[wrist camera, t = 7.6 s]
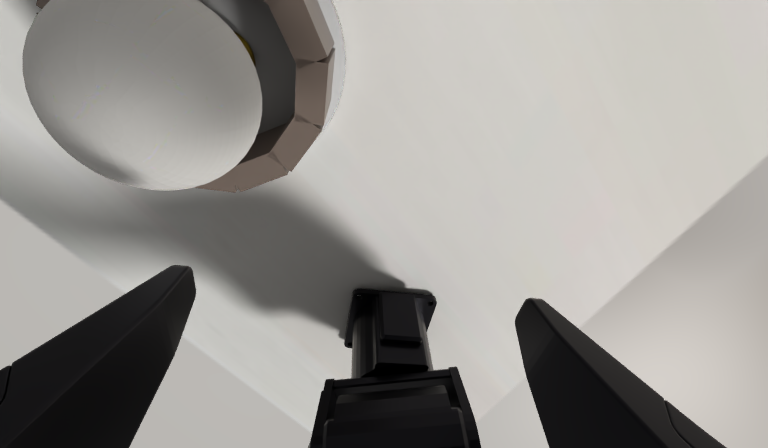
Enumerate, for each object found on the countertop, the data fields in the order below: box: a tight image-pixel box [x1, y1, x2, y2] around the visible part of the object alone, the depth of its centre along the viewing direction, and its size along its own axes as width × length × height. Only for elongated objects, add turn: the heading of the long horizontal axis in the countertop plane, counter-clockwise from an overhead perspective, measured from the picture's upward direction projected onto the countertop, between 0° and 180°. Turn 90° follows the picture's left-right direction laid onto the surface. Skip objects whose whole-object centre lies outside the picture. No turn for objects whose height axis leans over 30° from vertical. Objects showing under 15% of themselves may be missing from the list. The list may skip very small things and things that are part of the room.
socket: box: [36, 0, 346, 193], centre depth 15 cm, size 11×11×5 cm
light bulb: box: [23, 0, 262, 191], centre depth 12 cm, size 6×6×10 cm
